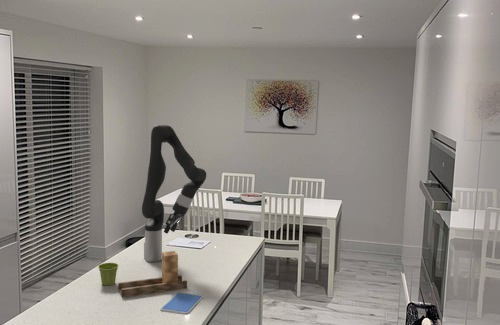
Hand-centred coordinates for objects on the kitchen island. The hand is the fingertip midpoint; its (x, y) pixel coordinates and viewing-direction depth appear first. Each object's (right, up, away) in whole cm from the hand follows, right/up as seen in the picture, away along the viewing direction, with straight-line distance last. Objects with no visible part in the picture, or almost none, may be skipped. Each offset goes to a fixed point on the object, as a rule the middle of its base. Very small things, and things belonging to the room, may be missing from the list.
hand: (168, 231), depth 241 cm
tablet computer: (+12, -27, -35) cm, 46 cm away
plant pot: (-26, -23, -14) cm, 38 cm away
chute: (-4, -24, -20) cm, 31 cm away
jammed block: (+3, -22, -17) cm, 28 cm away
